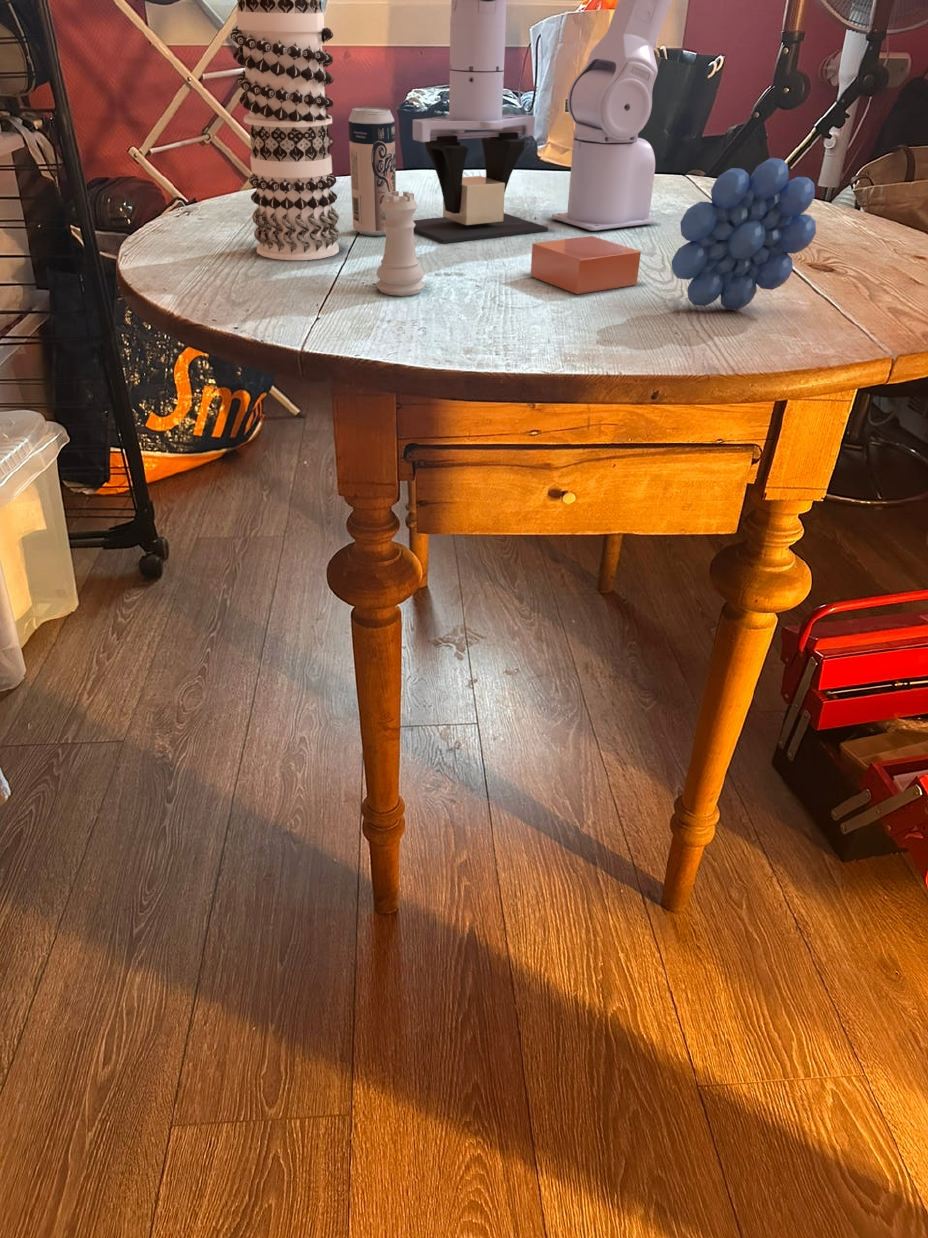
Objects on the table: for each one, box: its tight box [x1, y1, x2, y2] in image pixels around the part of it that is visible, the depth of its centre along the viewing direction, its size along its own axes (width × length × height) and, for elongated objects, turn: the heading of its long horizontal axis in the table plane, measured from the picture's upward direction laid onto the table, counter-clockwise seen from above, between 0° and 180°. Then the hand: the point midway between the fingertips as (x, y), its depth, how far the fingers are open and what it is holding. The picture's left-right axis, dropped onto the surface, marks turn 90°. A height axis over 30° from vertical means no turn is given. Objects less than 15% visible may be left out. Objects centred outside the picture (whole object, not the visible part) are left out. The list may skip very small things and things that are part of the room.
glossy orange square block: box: [529, 235, 642, 295], centre depth 86 cm, size 7×7×3 cm
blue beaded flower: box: [671, 157, 817, 311], centre depth 78 cm, size 12×7×12 cm, turn 91°
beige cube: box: [442, 175, 506, 225], centre depth 104 cm, size 5×5×4 cm
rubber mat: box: [413, 212, 549, 244], centre depth 105 cm, size 14×10×1 cm
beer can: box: [347, 107, 397, 237], centre depth 99 cm, size 5×5×12 cm
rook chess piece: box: [375, 190, 426, 297], centre depth 81 cm, size 4×4×8 cm
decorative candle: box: [229, 0, 340, 261], centre depth 87 cm, size 9×9×25 cm
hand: (473, 209), depth 104 cm, fingers closed on beige cube, 5 cm apart
